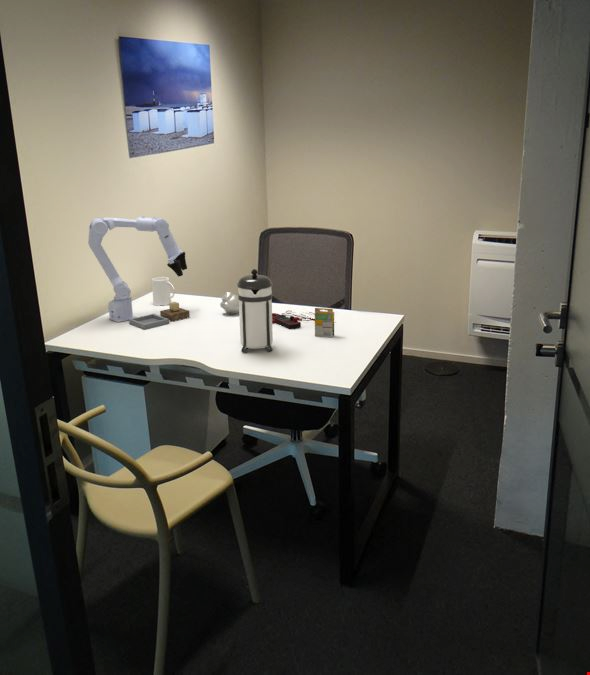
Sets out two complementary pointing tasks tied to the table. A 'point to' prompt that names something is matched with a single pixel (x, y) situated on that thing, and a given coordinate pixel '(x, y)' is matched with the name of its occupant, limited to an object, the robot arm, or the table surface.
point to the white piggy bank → (230, 303)
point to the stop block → (175, 314)
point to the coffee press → (255, 311)
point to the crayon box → (324, 322)
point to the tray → (149, 321)
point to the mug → (161, 290)
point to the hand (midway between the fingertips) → (182, 272)
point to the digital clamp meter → (288, 320)
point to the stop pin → (174, 306)
